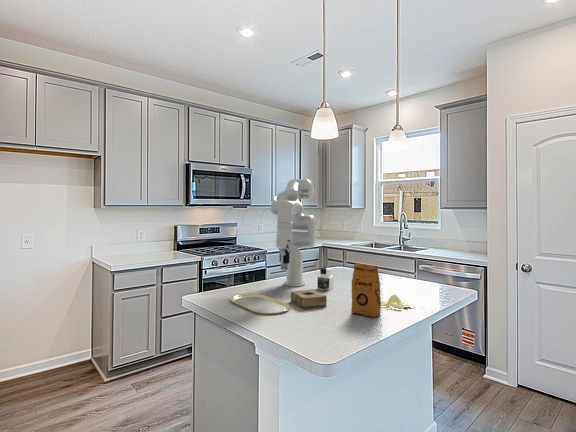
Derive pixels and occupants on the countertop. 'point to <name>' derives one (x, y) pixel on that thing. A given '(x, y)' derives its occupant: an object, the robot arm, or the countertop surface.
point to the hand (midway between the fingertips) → (284, 262)
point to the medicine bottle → (325, 279)
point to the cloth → (394, 302)
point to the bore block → (308, 299)
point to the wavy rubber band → (264, 298)
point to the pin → (283, 266)
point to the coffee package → (366, 290)
